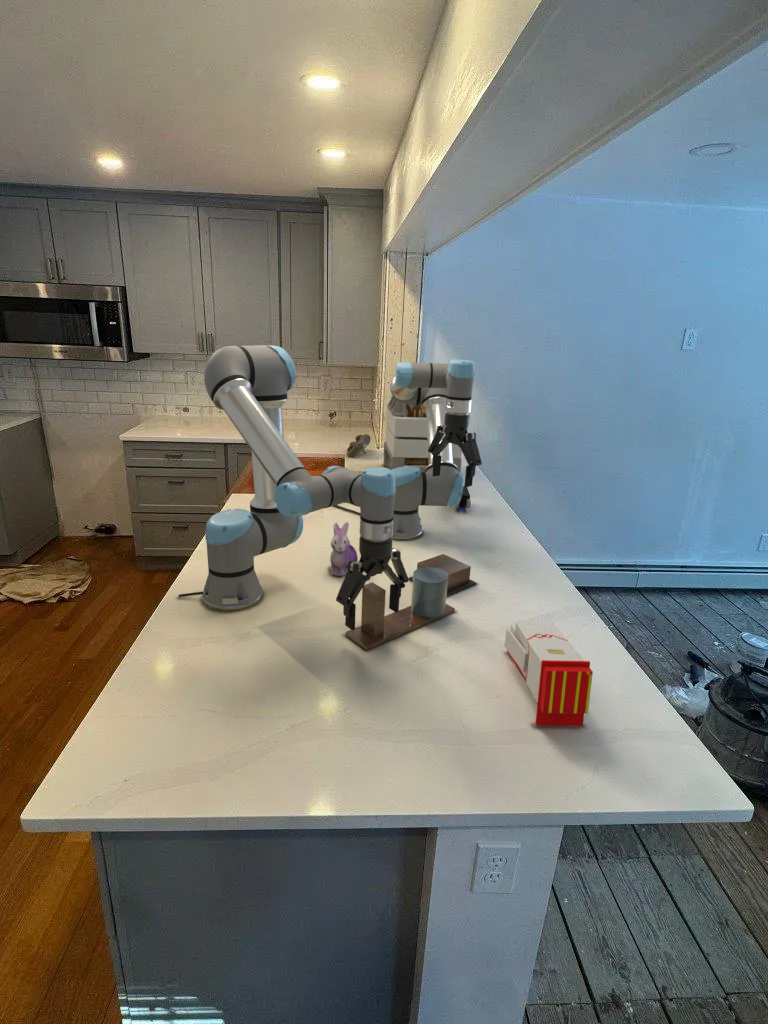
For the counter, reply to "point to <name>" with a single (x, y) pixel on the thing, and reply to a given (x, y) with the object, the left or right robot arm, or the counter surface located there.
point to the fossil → (358, 445)
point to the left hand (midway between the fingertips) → (372, 618)
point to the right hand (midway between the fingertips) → (451, 480)
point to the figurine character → (464, 500)
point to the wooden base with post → (423, 609)
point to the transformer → (409, 437)
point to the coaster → (457, 589)
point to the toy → (551, 672)
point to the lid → (449, 569)
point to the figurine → (341, 551)
